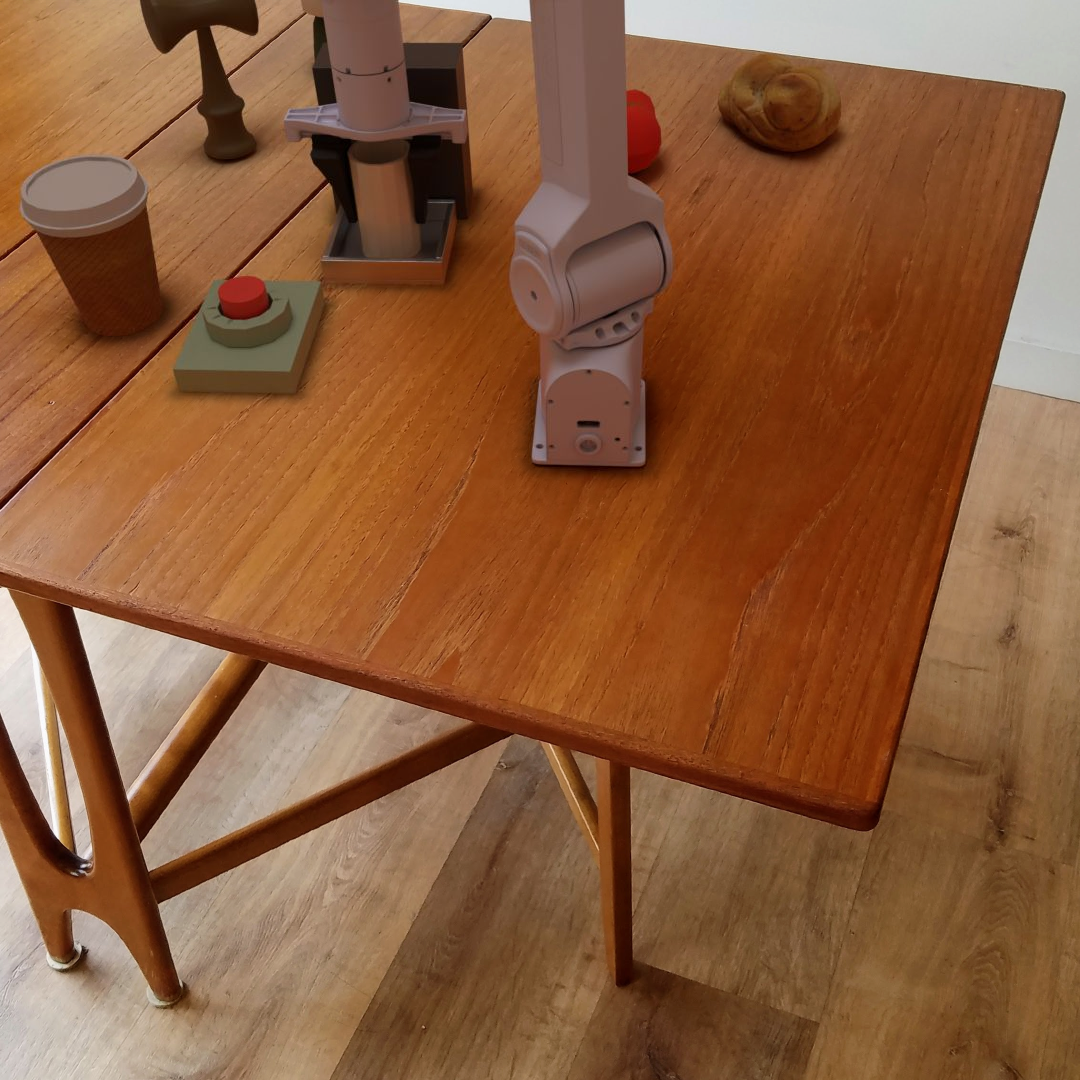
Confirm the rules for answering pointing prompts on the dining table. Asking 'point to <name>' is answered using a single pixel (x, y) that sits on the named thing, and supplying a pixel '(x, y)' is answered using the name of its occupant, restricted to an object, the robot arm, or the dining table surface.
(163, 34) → the kendama
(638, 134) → the tomato
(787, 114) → the bread roll
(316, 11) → the character mug
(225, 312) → the button
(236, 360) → the switch block
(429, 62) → the coffee machine
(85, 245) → the disposable coffee cup
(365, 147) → the beige hollow cylinder
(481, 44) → the dining table surface
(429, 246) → the pan
